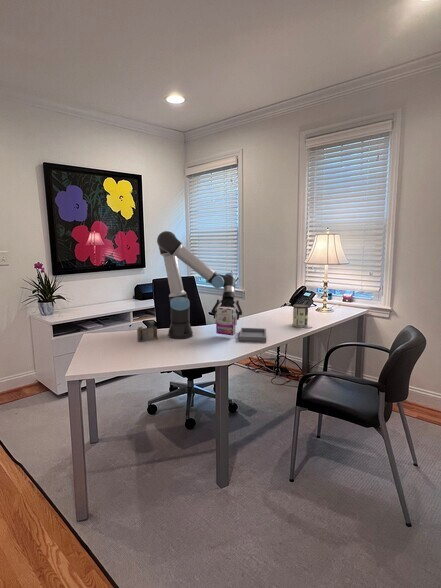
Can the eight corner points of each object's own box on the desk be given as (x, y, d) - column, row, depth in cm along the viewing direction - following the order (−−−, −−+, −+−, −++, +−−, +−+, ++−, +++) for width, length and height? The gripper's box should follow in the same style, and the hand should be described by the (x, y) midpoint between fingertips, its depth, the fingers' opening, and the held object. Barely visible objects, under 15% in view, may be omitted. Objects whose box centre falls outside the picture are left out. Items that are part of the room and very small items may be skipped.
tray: (239, 341, 208) (239, 336, 208) (241, 332, 228) (241, 327, 227) (266, 342, 206) (266, 337, 206) (265, 333, 226) (266, 328, 225)
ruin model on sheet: (139, 343, 205) (138, 326, 203) (137, 341, 208) (137, 325, 206) (157, 340, 210) (157, 324, 209) (156, 339, 213) (155, 323, 211)
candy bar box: (235, 333, 216) (236, 307, 213) (232, 335, 211) (233, 309, 208) (219, 331, 220) (219, 305, 217) (215, 333, 216) (216, 307, 213)
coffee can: (301, 322, 253) (302, 303, 251) (310, 326, 244) (311, 306, 242) (289, 324, 250) (290, 304, 247) (297, 327, 240) (298, 307, 238)
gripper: (247, 298, 227) (245, 327, 215) (210, 297, 230) (206, 325, 217) (247, 291, 221) (245, 321, 209) (209, 290, 224) (205, 319, 211)
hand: (225, 323), depth 213 cm, fingers closed on candy bar box, 12 cm apart
